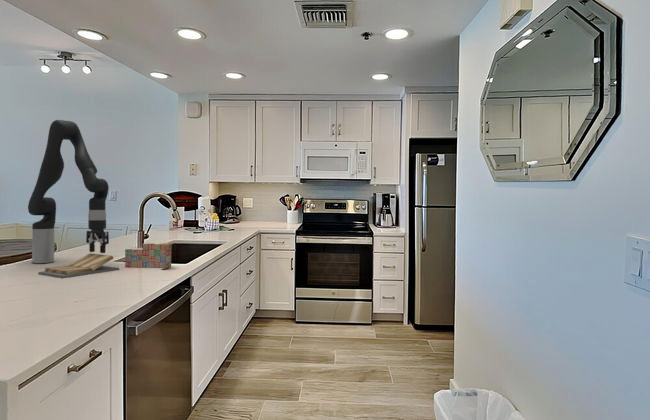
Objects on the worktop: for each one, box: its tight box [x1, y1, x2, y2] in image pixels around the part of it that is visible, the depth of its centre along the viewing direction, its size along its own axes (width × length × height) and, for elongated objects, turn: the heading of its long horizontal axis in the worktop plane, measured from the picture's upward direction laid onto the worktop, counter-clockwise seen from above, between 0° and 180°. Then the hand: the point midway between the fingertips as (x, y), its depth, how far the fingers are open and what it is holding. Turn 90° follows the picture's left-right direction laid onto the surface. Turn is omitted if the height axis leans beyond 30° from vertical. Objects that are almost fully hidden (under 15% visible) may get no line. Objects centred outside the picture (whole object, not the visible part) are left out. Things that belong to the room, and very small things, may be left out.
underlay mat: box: [37, 265, 120, 279], centre depth 187 cm, size 19×26×1 cm
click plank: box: [68, 252, 114, 271], centre depth 191 cm, size 18×11×2 cm, turn 62°
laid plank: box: [44, 264, 91, 275], centre depth 182 cm, size 18×10×2 cm, turn 62°
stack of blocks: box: [124, 242, 172, 269], centre depth 203 cm, size 21×6×12 cm, turn 85°
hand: (97, 252), depth 196 cm, fingers open, 8 cm apart
